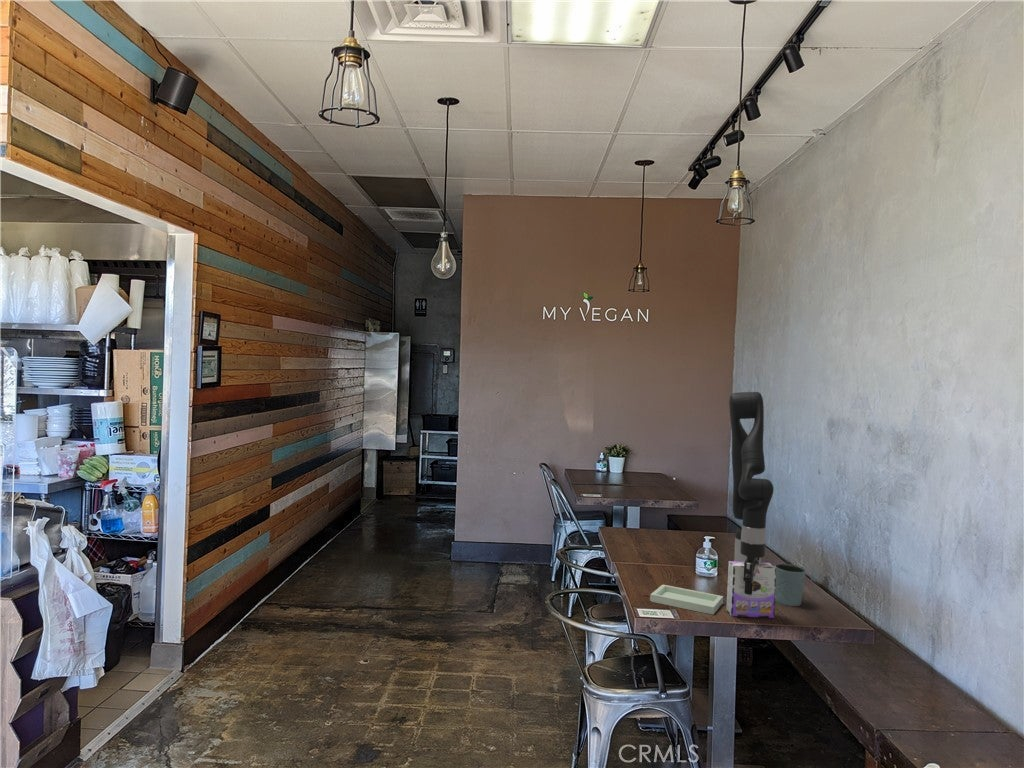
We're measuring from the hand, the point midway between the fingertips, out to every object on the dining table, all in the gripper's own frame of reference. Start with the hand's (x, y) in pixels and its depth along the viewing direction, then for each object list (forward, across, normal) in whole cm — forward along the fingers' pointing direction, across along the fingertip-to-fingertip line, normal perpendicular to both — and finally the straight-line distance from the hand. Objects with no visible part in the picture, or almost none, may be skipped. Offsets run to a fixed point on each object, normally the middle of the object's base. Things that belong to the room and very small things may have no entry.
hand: (750, 590), depth 217 cm
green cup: (+8, -22, +9) cm, 25 cm away
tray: (+8, +1, -20) cm, 22 cm away
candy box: (+8, 0, 0) cm, 8 cm away
